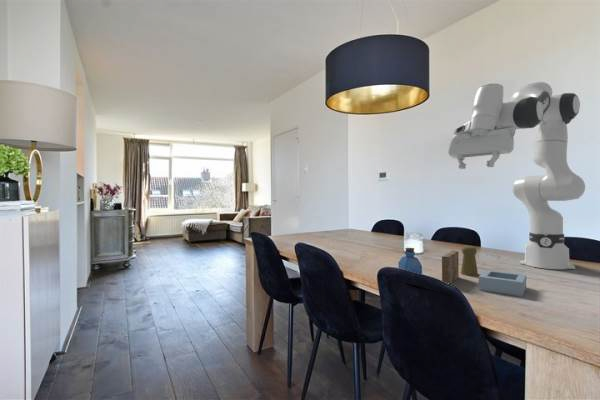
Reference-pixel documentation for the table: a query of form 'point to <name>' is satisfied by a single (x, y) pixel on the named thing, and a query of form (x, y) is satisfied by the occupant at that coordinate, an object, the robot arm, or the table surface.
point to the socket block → (503, 282)
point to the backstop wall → (450, 267)
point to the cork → (469, 261)
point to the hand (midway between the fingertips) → (475, 167)
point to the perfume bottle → (410, 262)
